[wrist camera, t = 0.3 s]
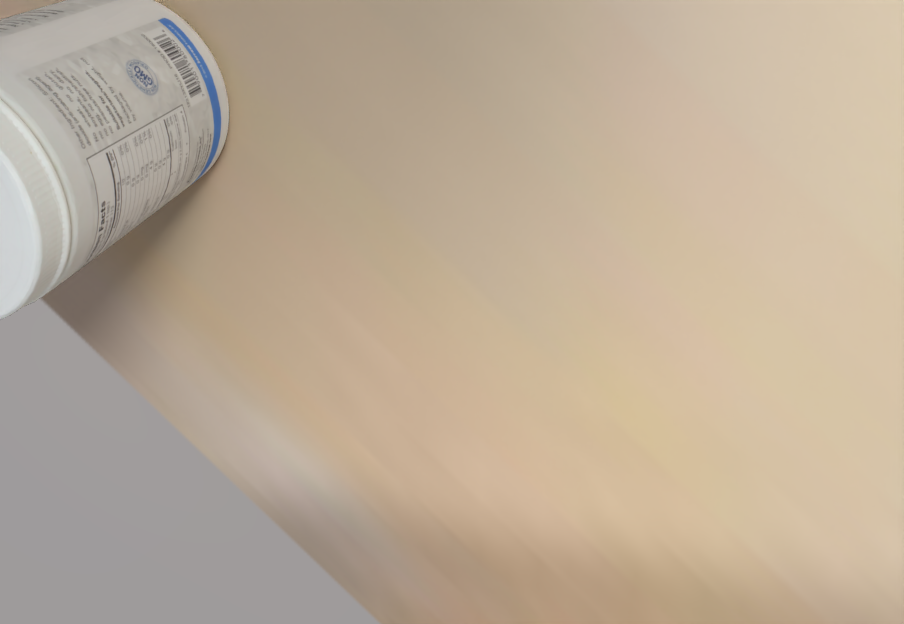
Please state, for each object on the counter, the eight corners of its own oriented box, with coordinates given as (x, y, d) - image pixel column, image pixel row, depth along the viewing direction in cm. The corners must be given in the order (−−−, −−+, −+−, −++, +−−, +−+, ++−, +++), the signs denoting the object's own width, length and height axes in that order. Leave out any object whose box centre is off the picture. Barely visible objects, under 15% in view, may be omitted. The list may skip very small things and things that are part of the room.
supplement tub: (50, 142, 44) (-205, 269, 31) (60, -46, 38) (-241, 16, 26) (223, 213, 43) (34, 371, 31) (256, 32, 38) (45, 134, 26)
